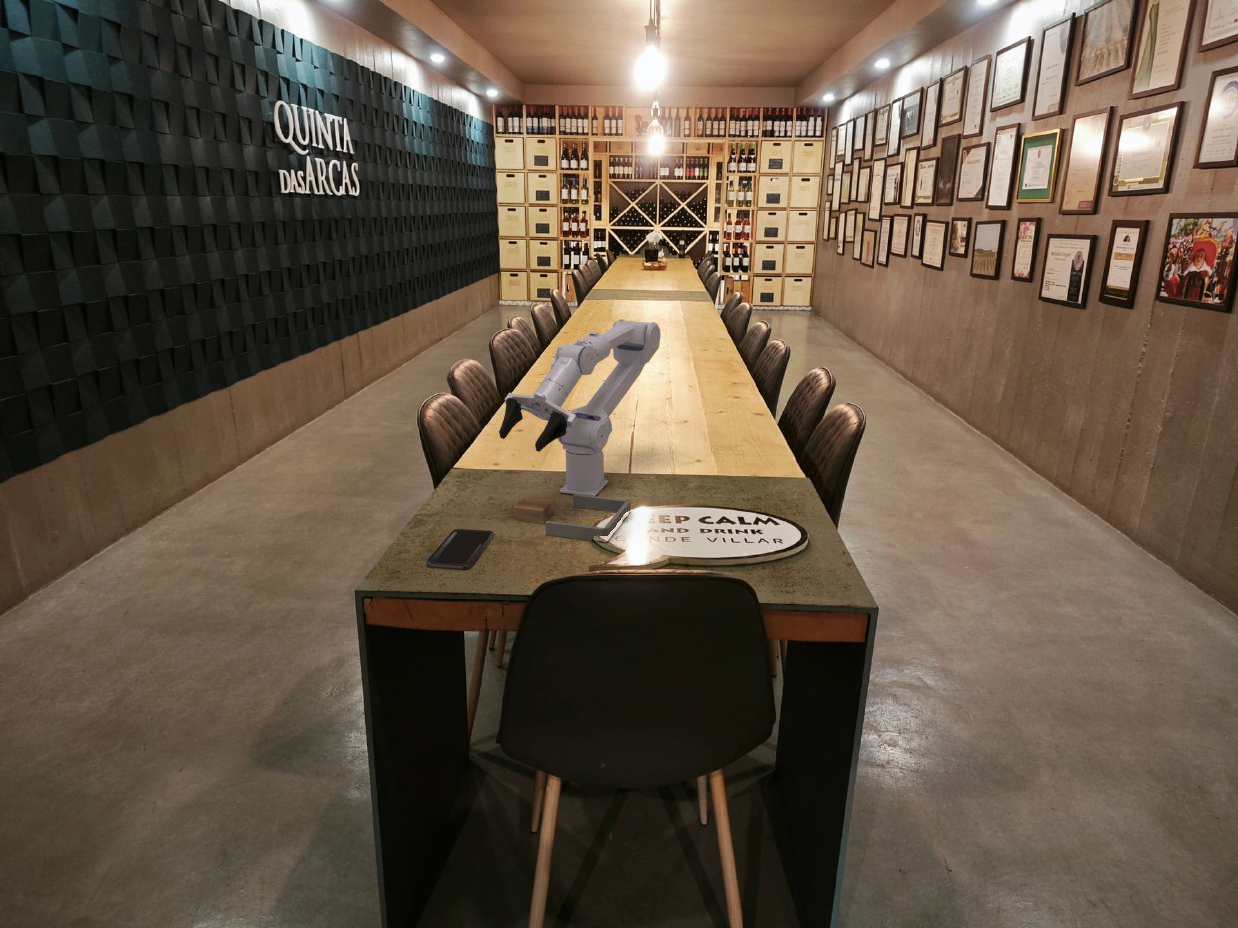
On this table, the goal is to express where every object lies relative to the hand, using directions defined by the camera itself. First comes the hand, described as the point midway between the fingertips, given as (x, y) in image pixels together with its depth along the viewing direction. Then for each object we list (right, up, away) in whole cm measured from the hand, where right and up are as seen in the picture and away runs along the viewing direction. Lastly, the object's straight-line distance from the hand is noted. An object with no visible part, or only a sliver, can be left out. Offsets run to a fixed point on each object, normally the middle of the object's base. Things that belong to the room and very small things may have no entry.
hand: (519, 441), depth 145 cm
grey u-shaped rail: (+13, -15, +5) cm, 21 cm away
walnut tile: (+2, -15, +8) cm, 17 cm away
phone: (-9, -20, -7) cm, 23 cm away
